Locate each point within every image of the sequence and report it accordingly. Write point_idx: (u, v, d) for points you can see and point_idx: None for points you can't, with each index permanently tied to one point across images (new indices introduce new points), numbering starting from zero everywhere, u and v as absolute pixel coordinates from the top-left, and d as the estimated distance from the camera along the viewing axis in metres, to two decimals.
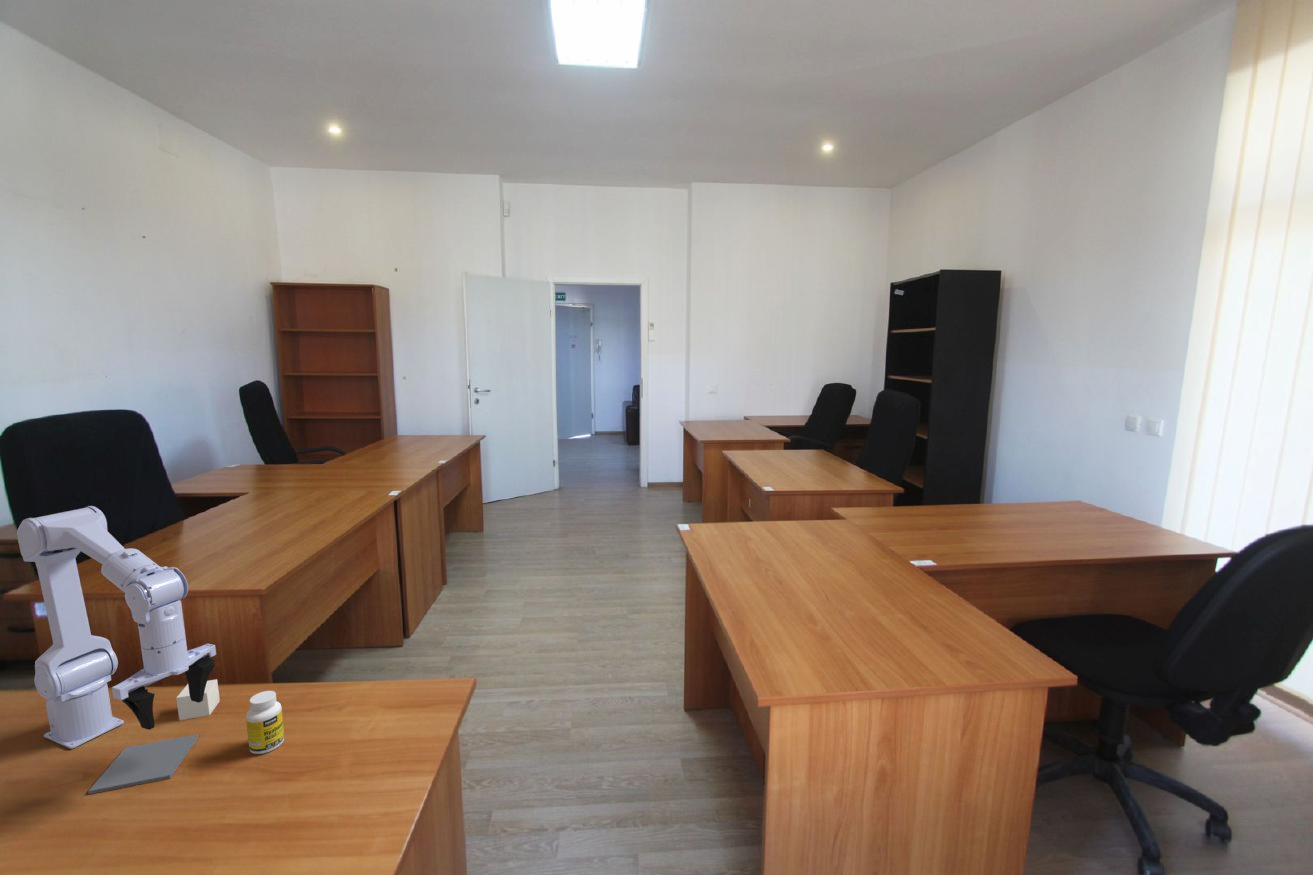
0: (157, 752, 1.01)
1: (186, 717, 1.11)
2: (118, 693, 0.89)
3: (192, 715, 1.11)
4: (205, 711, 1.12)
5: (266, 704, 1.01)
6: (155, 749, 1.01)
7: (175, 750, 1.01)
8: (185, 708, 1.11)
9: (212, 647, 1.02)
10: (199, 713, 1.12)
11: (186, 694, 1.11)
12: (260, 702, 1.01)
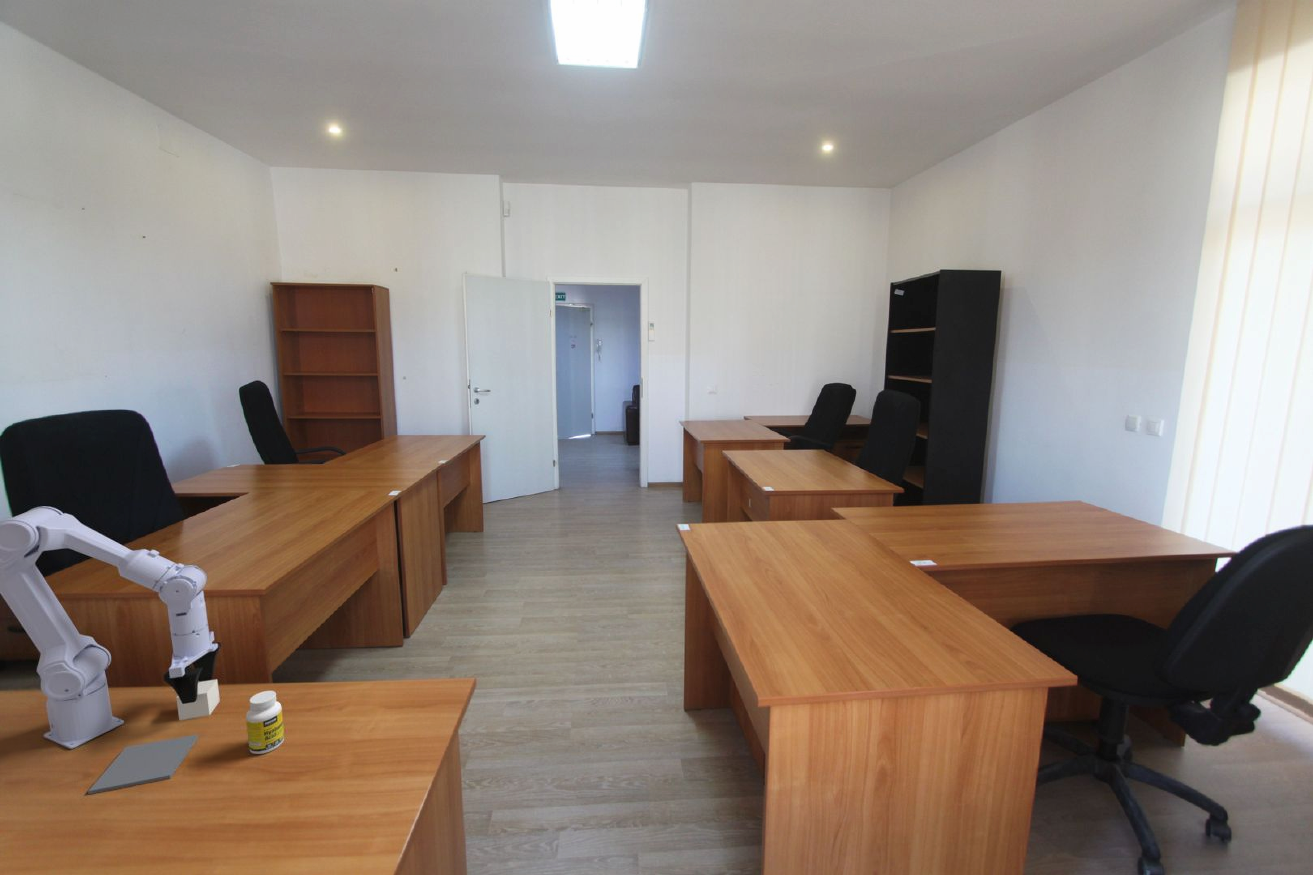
0: (157, 752, 1.01)
1: (186, 717, 1.11)
2: (179, 670, 1.05)
3: (192, 715, 1.11)
4: (205, 711, 1.12)
5: (266, 704, 1.01)
6: (155, 749, 1.01)
7: (175, 750, 1.01)
8: (185, 708, 1.11)
9: (212, 633, 1.18)
10: (199, 713, 1.12)
11: None
12: (260, 702, 1.01)
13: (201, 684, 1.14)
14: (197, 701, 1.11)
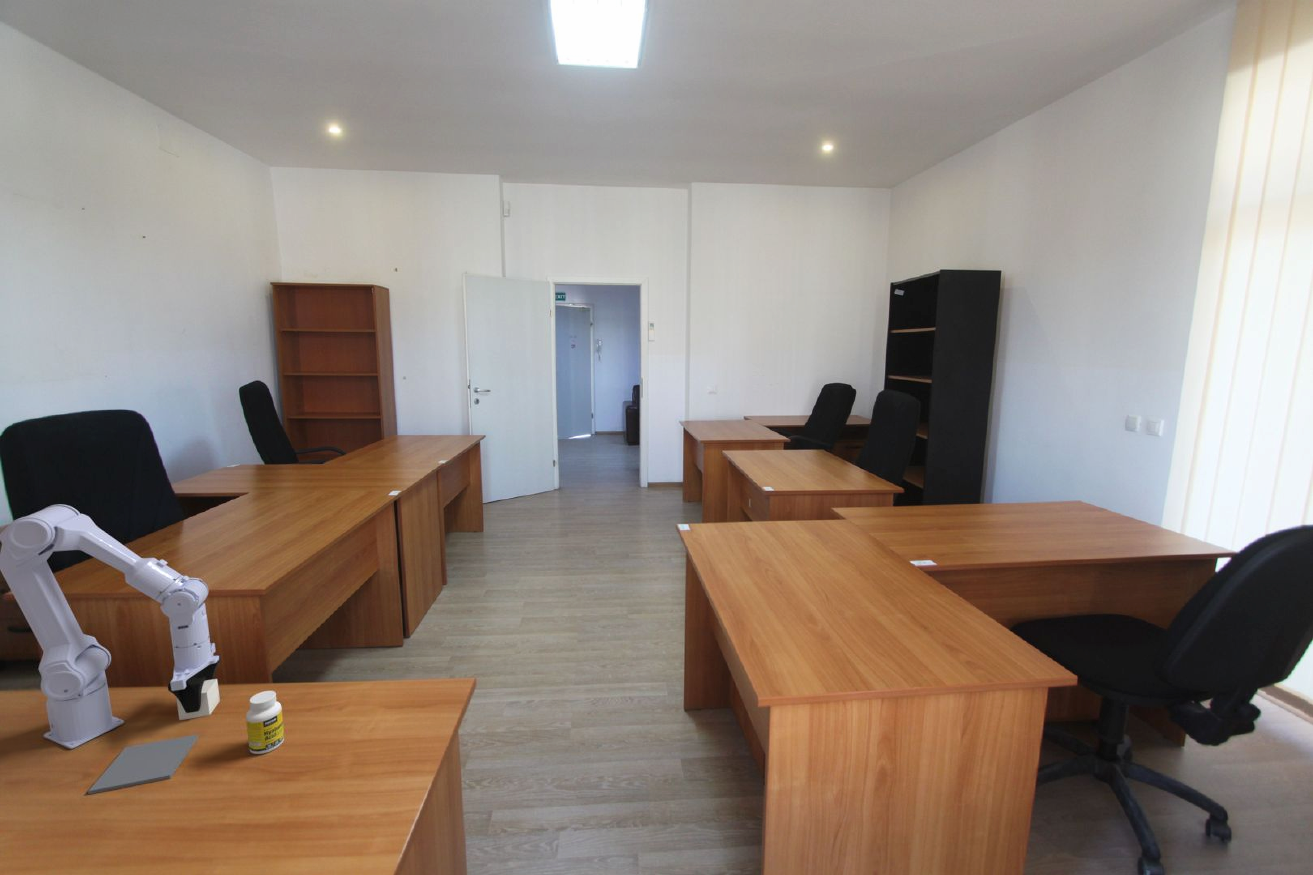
0: (157, 752, 1.01)
1: (186, 716, 1.11)
2: (181, 683, 1.06)
3: (192, 714, 1.11)
4: (205, 710, 1.12)
5: (266, 704, 1.01)
6: (155, 749, 1.01)
7: (175, 750, 1.01)
8: None
9: (213, 644, 1.19)
10: (199, 712, 1.12)
11: None
12: (260, 702, 1.01)
13: None
14: None
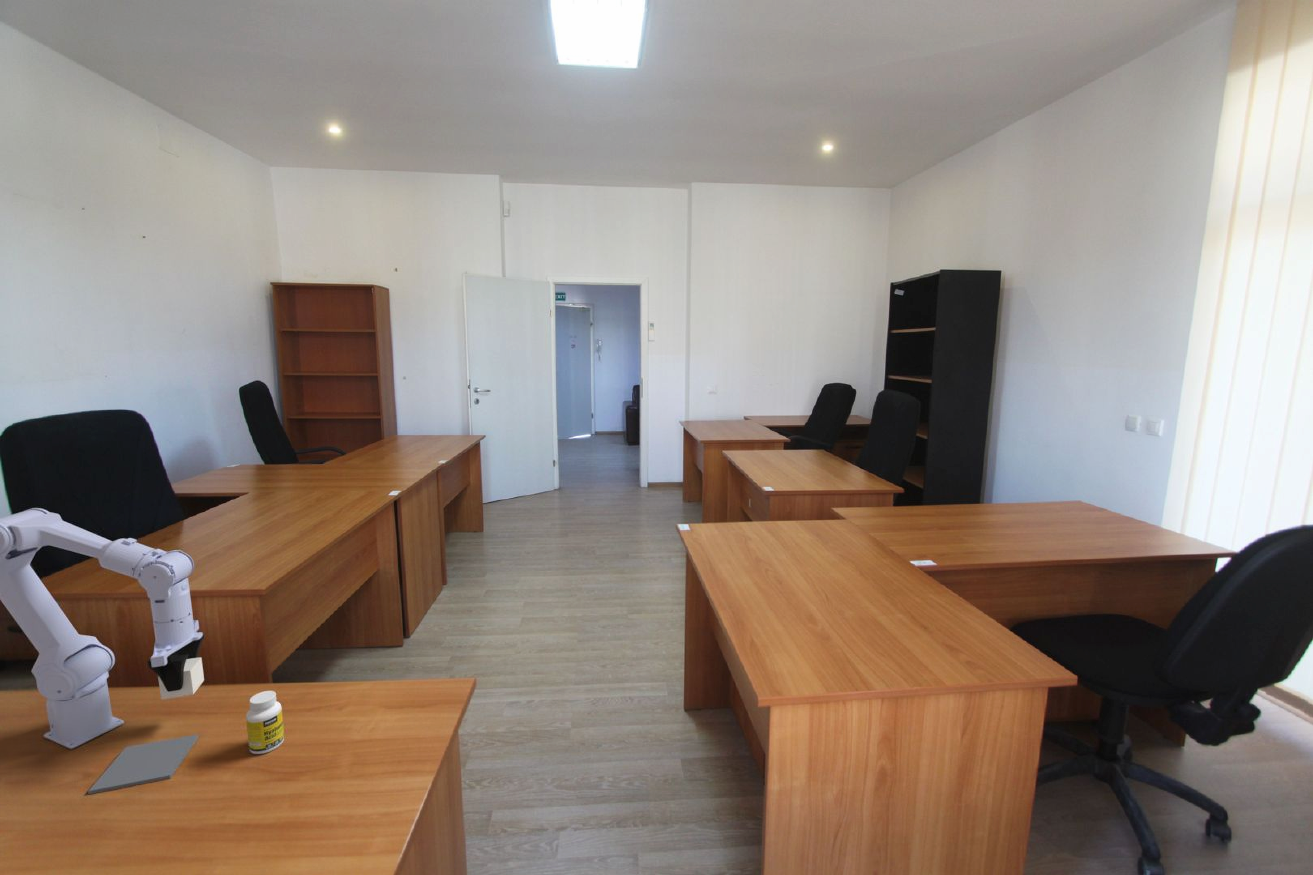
0: (157, 752, 1.01)
1: (168, 696, 1.06)
2: (162, 659, 1.01)
3: (175, 694, 1.06)
4: (188, 689, 1.07)
5: (266, 704, 1.01)
6: (155, 749, 1.01)
7: (175, 750, 1.01)
8: None
9: (197, 622, 1.14)
10: (182, 691, 1.06)
11: None
12: (260, 702, 1.01)
13: None
14: None
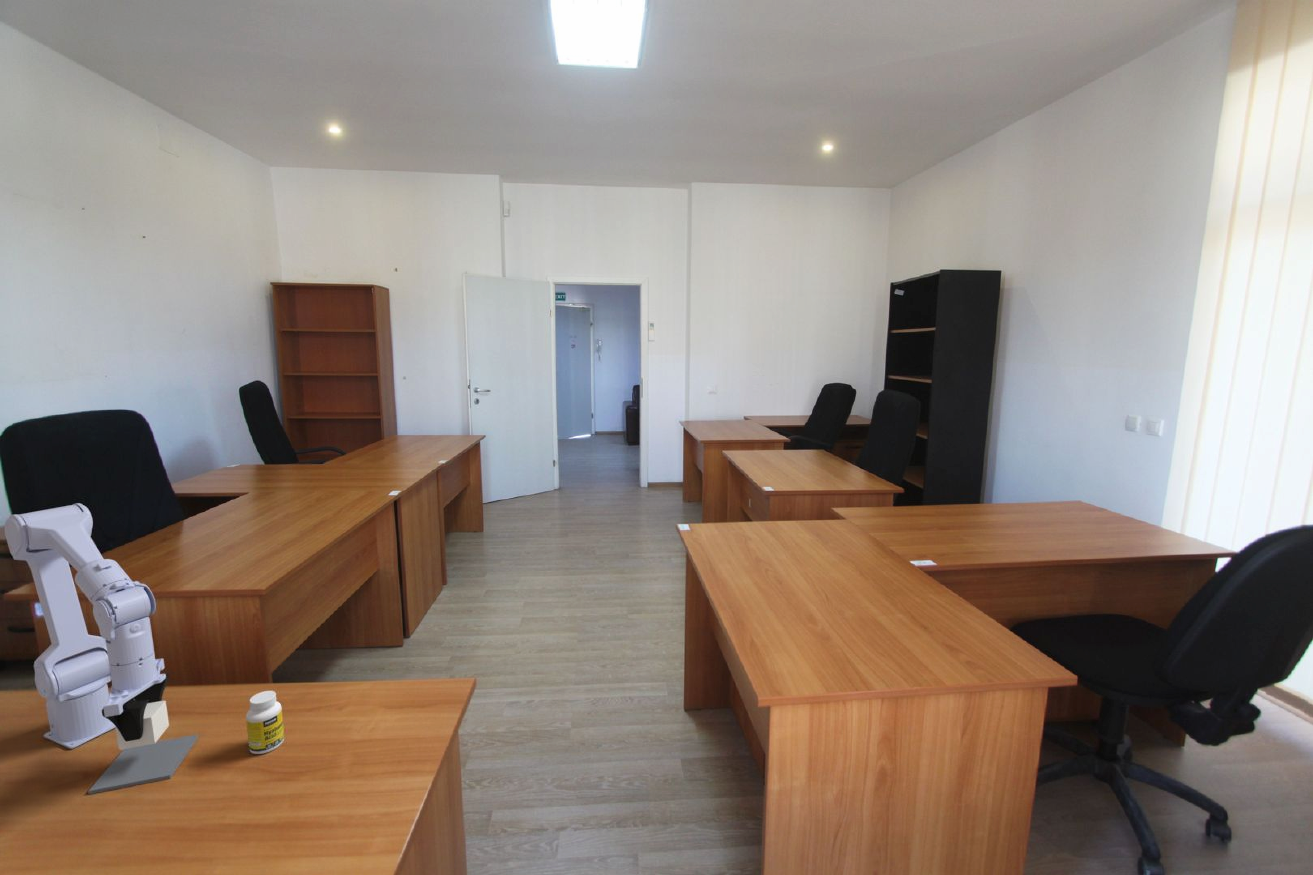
0: (157, 752, 1.01)
1: (127, 746, 0.95)
2: (116, 708, 0.90)
3: (134, 743, 0.96)
4: (149, 738, 0.96)
5: (266, 704, 1.01)
6: (155, 749, 1.01)
7: (175, 750, 1.01)
8: None
9: (162, 660, 1.03)
10: (142, 741, 0.96)
11: None
12: (260, 702, 1.01)
13: (146, 707, 0.99)
14: None
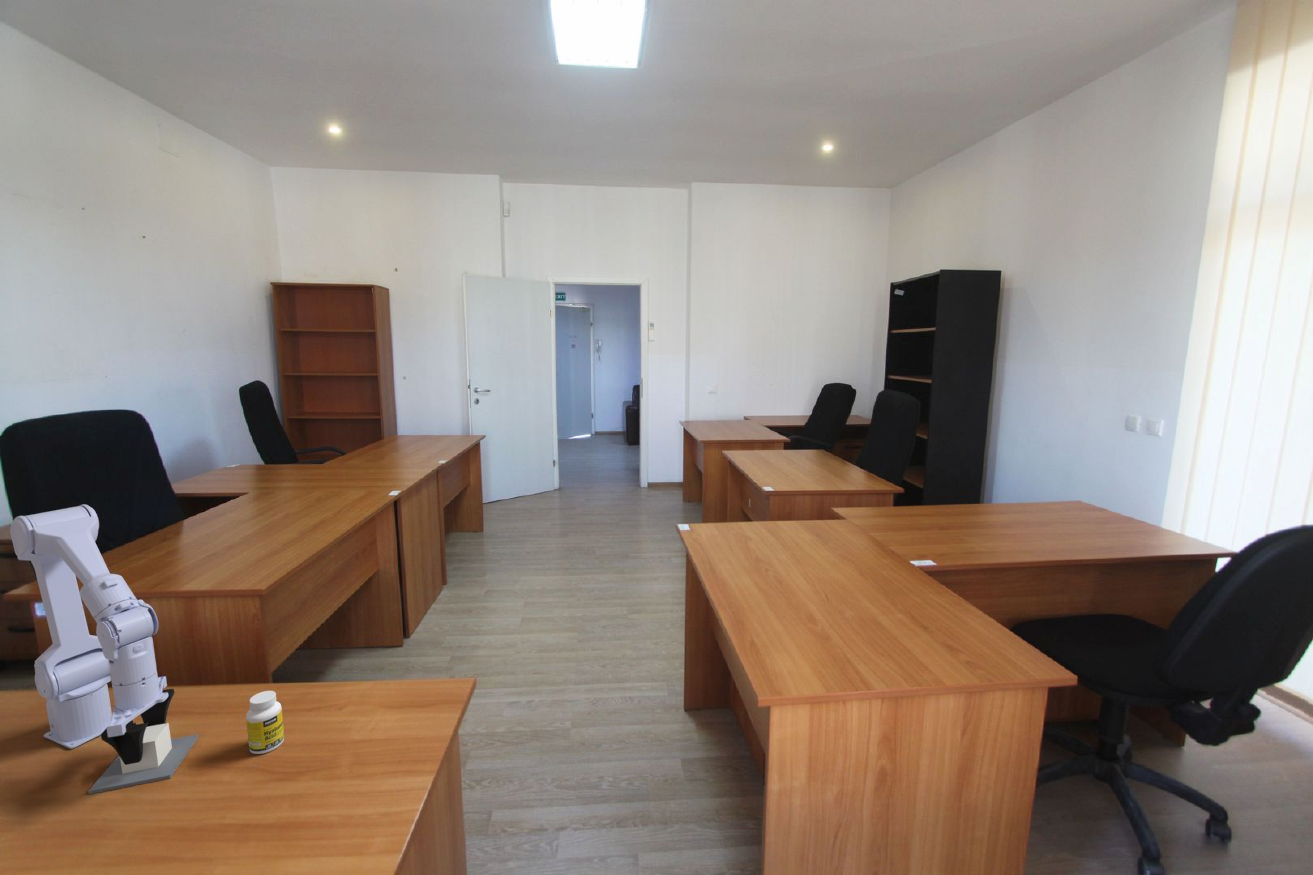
0: None
1: (130, 769, 0.96)
2: (119, 728, 0.91)
3: (138, 767, 0.96)
4: (153, 762, 0.97)
5: (266, 704, 1.01)
6: None
7: (175, 750, 1.01)
8: None
9: (164, 678, 1.04)
10: (146, 764, 0.97)
11: None
12: (260, 702, 1.01)
13: (149, 730, 0.99)
14: (143, 750, 0.96)
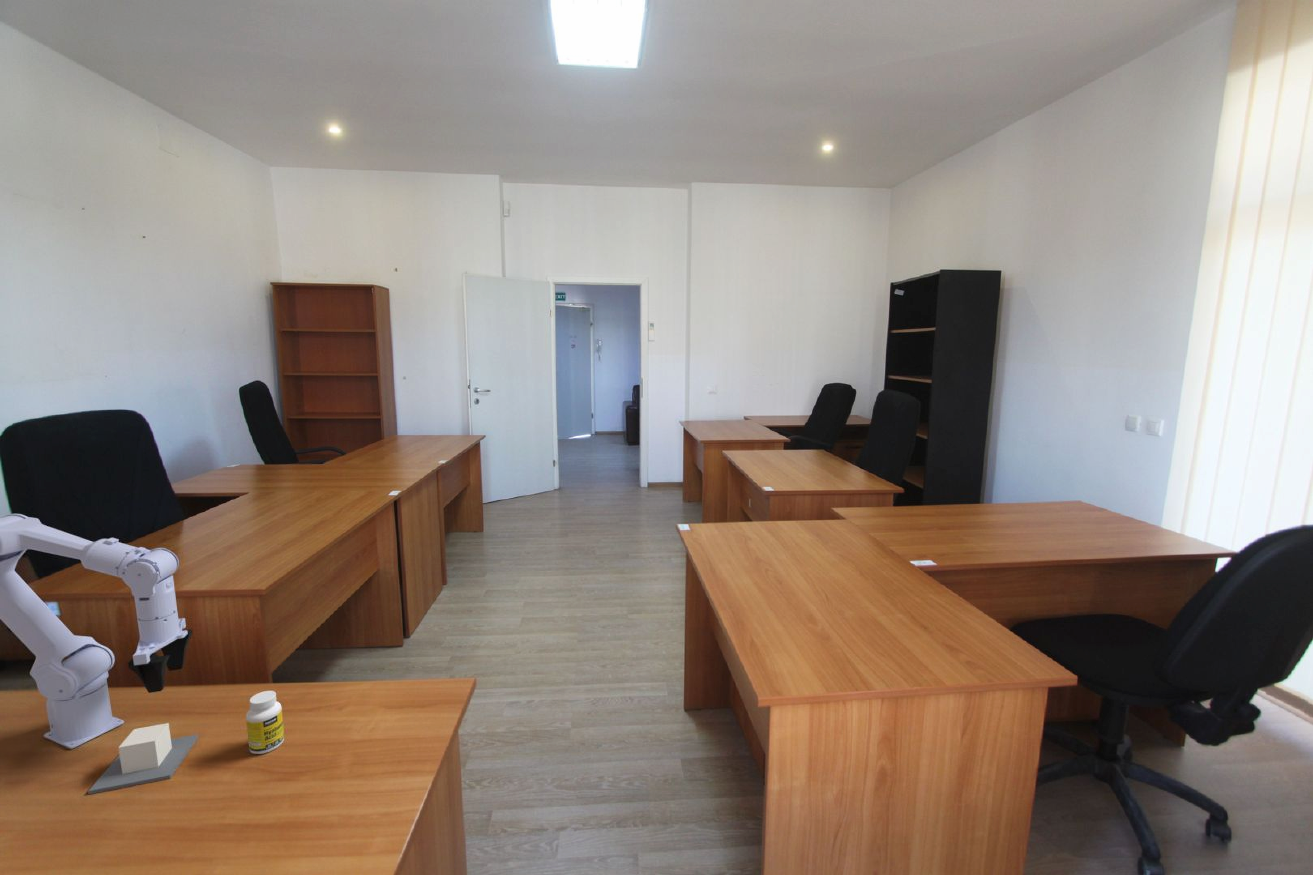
0: None
1: (130, 769, 0.96)
2: (144, 657, 1.00)
3: (138, 767, 0.96)
4: (153, 762, 0.97)
5: (266, 704, 1.01)
6: None
7: (175, 750, 1.01)
8: (129, 759, 0.96)
9: (183, 619, 1.13)
10: (146, 764, 0.97)
11: (131, 742, 0.96)
12: (260, 702, 1.01)
13: (149, 730, 0.99)
14: (143, 750, 0.96)
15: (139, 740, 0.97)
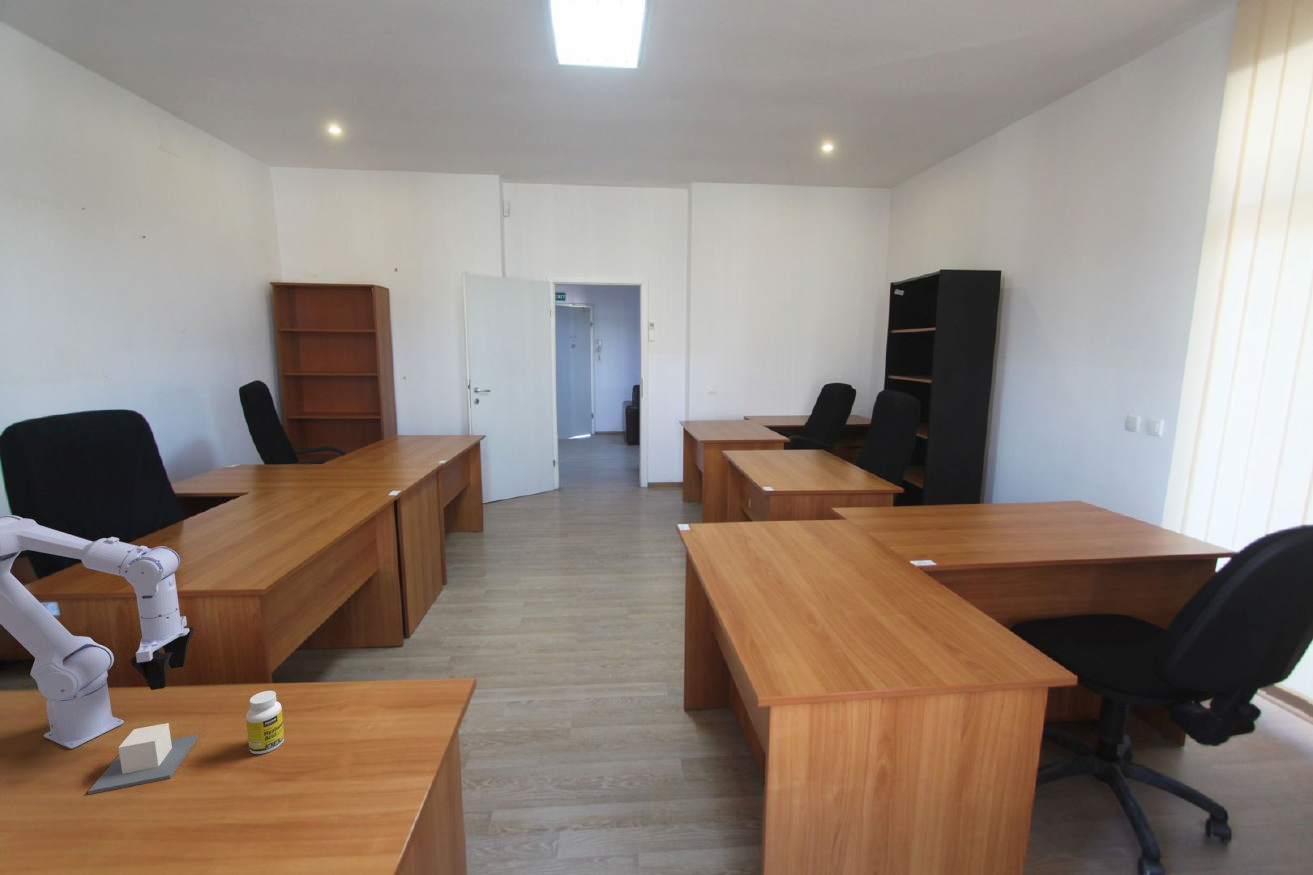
0: None
1: (130, 769, 0.96)
2: (147, 654, 1.01)
3: (138, 767, 0.96)
4: (153, 762, 0.97)
5: (266, 704, 1.01)
6: None
7: (175, 750, 1.01)
8: (129, 759, 0.96)
9: (185, 618, 1.14)
10: (146, 764, 0.97)
11: (131, 742, 0.96)
12: (260, 702, 1.01)
13: (149, 730, 0.99)
14: (143, 750, 0.96)
15: (139, 740, 0.97)
